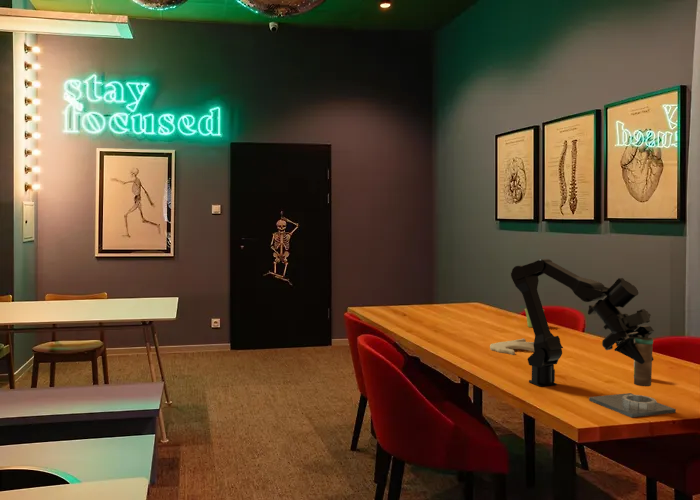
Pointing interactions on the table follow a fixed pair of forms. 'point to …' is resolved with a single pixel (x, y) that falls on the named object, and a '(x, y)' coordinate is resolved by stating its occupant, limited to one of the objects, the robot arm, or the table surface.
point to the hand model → (512, 346)
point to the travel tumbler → (644, 370)
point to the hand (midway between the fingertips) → (647, 362)
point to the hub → (632, 405)
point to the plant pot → (528, 319)
